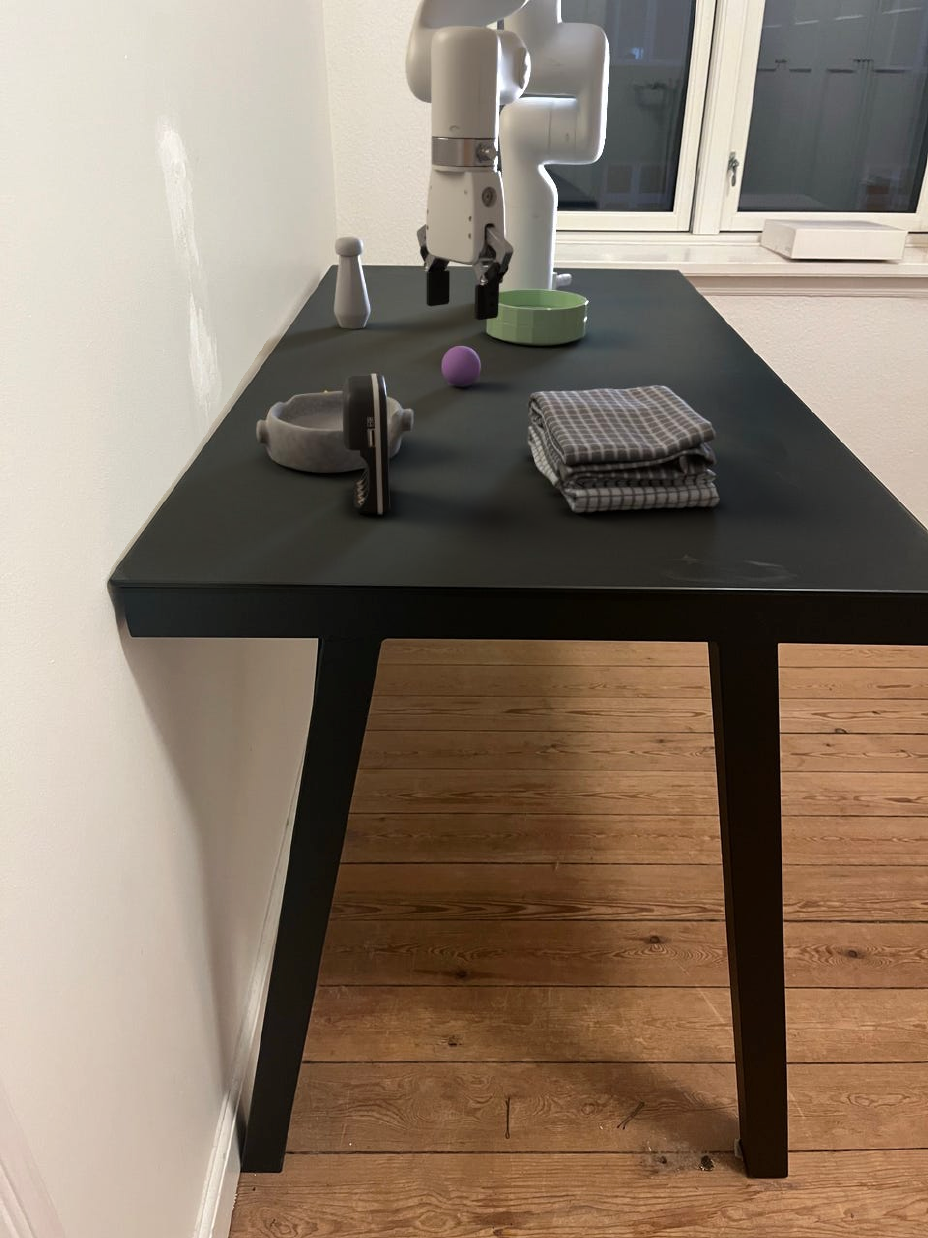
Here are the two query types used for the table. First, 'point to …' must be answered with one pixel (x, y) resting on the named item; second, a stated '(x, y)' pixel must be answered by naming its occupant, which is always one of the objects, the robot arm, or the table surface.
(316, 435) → the dish
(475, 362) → the ball
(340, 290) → the salt shaker
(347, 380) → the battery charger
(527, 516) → the table surface
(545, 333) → the bowl
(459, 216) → the robot arm
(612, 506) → the towel
